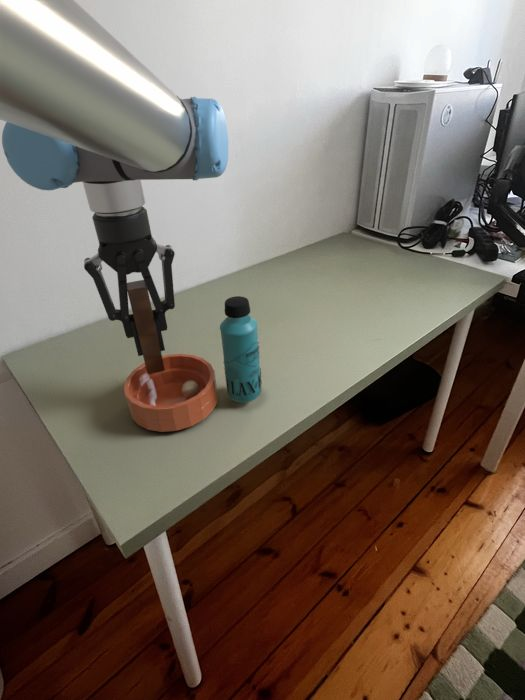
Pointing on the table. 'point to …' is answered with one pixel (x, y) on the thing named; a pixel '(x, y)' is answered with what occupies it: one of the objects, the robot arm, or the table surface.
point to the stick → (145, 326)
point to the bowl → (171, 393)
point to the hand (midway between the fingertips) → (150, 348)
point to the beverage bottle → (240, 351)
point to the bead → (190, 389)
